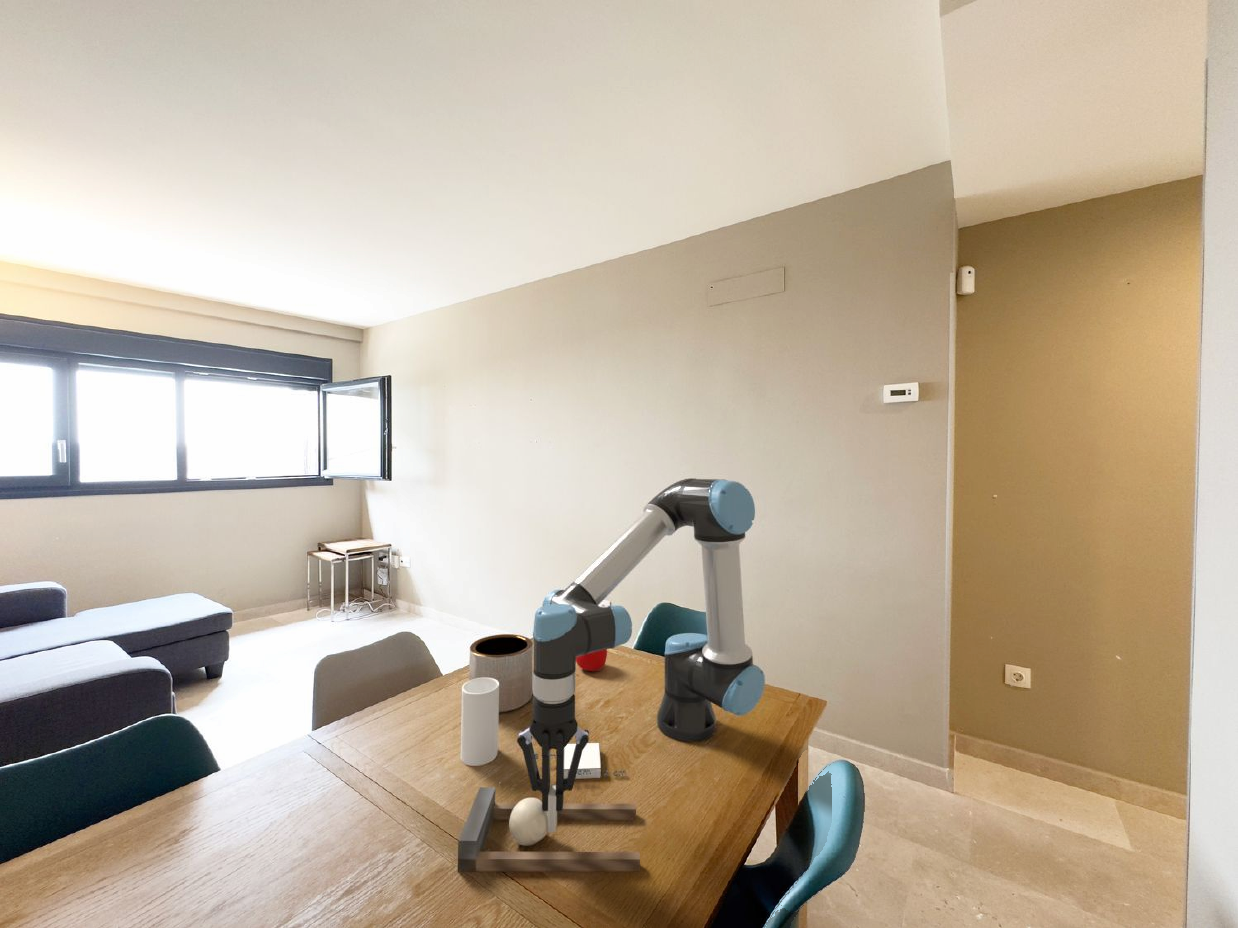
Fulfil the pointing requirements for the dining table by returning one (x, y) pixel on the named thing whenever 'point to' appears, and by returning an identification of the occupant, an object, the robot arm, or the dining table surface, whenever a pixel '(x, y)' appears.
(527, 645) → the planter
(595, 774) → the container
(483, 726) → the cup
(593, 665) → the tomato
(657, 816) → the dining table surface
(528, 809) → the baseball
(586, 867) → the channel
